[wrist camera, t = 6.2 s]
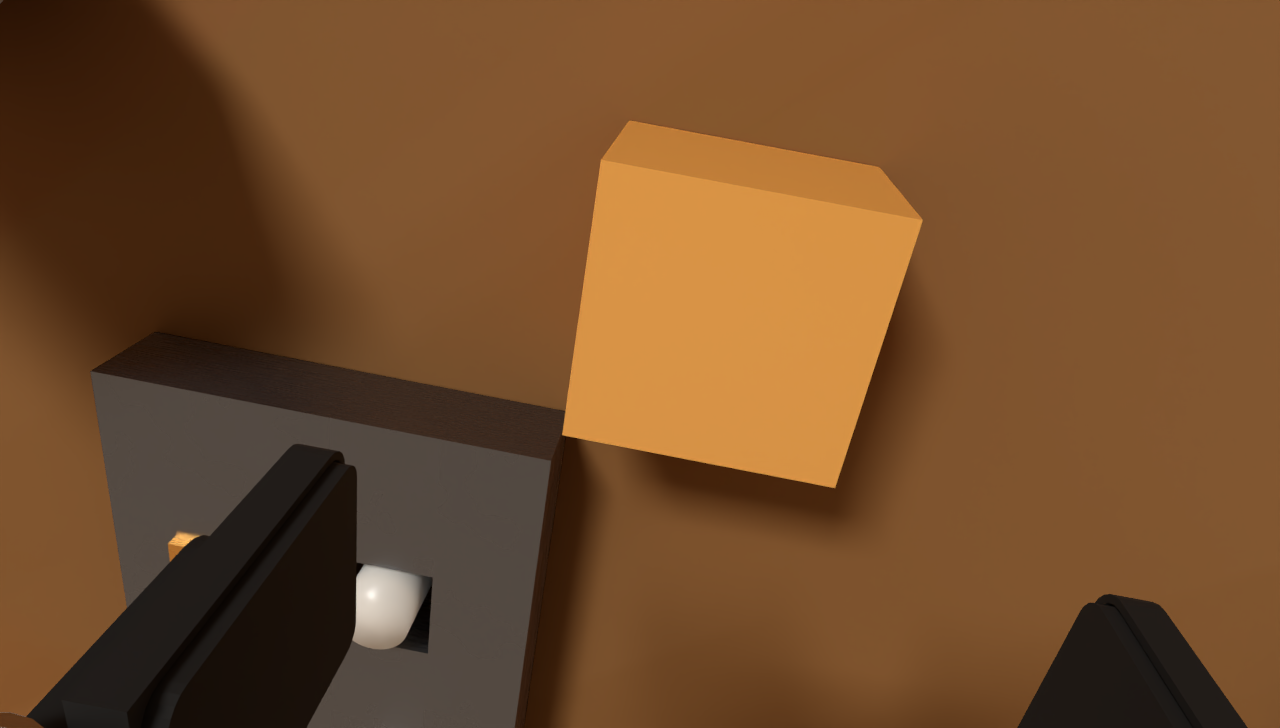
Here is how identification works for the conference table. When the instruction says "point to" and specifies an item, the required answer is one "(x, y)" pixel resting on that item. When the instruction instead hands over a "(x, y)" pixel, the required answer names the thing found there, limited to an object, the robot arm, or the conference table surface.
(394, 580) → the tagged button
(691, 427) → the cap
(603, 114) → the conference table surface
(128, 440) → the panel
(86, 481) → the conference table surface
